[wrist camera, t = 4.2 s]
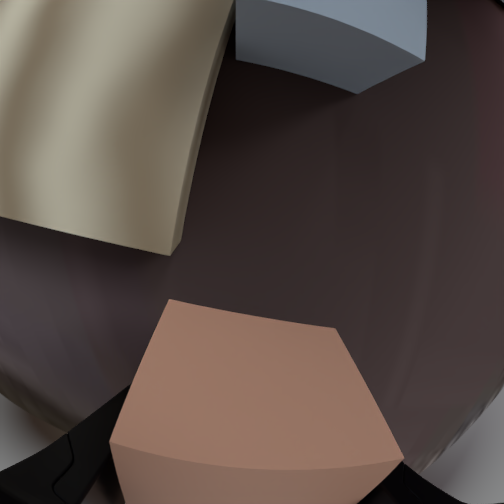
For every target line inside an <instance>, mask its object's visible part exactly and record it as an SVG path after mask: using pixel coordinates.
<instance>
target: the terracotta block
mask: <svg viewBox="0 0 504 504" xmlns="http://www.w3.org/2000/svg"><path fill="white" fill-rule="evenodd" d="M109 443H110V447H111V452H112V456H113V460H114V464H115V468H116V472H117V476H118V479H119V483H120V486H121V490H122V493H123V496H124V499H125V503H126V504H357V503H358V502H359V501H360V500H362V499H363V498H364V497H365V496H366V495H367V494H368V493H370V492H371V491H372V490H373V489H374V488H375V487H376V486H377V485H378V484H379V483H380V482H381V481H382V480H384V479H385V478H386V477H387V476H388V475H389V474H390V473H391V472H392V471H393V470H394V469H395V468H396V466H397V465H398V464H399V463H400V462H401V461H402V460H403V459H404V457H403V455H402V453H401V451H400V449H399V447H398V445H397V443H396V441H395V439H394V437H393V435H392V433H391V431H390V429H389V427H388V425H387V423H386V421H385V419H384V417H383V415H382V413H381V412H380V410H379V408H378V406H377V404H376V402H375V400H374V398H373V396H372V395H371V393H370V391H369V389H368V387H367V385H366V383H365V381H364V380H363V378H362V376H361V374H360V372H359V370H358V369H357V367H356V365H355V363H354V361H353V359H352V358H351V356H350V354H349V352H348V350H347V349H346V347H345V345H344V343H343V341H342V340H341V338H340V336H339V334H338V332H337V331H336V329H335V328H328V327H321V326H314V325H307V324H300V323H294V322H287V321H281V320H275V319H269V318H263V317H257V316H251V315H246V314H240V313H235V312H229V311H224V310H219V309H214V308H209V307H204V306H199V305H194V304H189V303H185V302H180V301H176V300H171V299H169V301H168V303H167V305H166V307H165V309H164V311H163V314H162V316H161V318H160V320H159V322H158V325H157V327H156V329H155V331H154V333H153V336H152V338H151V340H150V342H149V345H148V347H147V349H146V352H145V354H144V356H143V358H142V361H141V363H140V366H139V368H138V370H137V373H136V375H135V377H134V380H133V382H132V385H131V387H130V389H129V392H128V394H127V397H126V399H125V402H124V404H123V407H122V409H121V412H120V415H119V417H118V420H117V422H116V425H115V428H114V430H113V433H112V435H111V438H110V441H109Z"/></svg>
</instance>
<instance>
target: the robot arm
mask: <svg viewBox="0 0 504 504" xmlns="http://www.w3.org/2000/svg"><path fill="white" fill-rule="evenodd" d="M496 1H498V2H499V3H500V4H501V5H502V6H503V7H504V0H496ZM131 385H132V383H131V384H130V385H129V386H127V387H126V388H125V389H123V390H122V391H121V392H120V393H118V394H117V395H116V396H115V397H113V398H112V399H111V400H109V401H108V402H107V403H105V404H104V405H103V406H102V407H100V408H99V409H98V410H96V411H95V412H94V413H92V414H91V415H90V416H89V417H87V418H86V419H85V420H83V421H82V422H81V423H79V424H78V425H77V426H75V427H74V428H73V429H71V430H70V431H69V432H68V434H65V435H63V436H62V437H60V438H59V439H58V440H56V441H55V442H54V443H52V444H51V445H49V446H48V447H46V448H45V449H43V450H41V451H39V452H38V453H36V454H34V455H32V456H30V457H28V458H26V459H25V460H23V461H21V462H19V463H17V464H15V465H13V466H11V467H9V468H7V469H4V470H2V471H0V504H125V499H124V496H123V493H122V490H121V486H120V483H119V479H118V476H117V472H116V468H115V464H114V460H113V456H112V452H111V447H110V443H109V441H110V438H111V435H112V433H113V430H114V428H115V425H116V422H117V420H118V417H119V415H120V412H121V409H122V407H123V404H124V402H125V399H126V397H127V394H128V392H129V389H130V387H131ZM357 504H467V503H464V502H461V501H459V500H457V499H455V498H454V497H452V496H450V495H448V494H447V493H445V492H444V491H442V490H440V489H439V488H437V487H436V486H434V485H433V484H431V483H430V482H428V481H427V480H425V479H424V478H422V477H421V476H420V475H418V474H417V473H416V472H415V471H413V470H412V469H411V468H410V467H408V466H407V465H406V464H404V463H403V462H402V461H401V462H400V463H399V464H398V465H397V466H396V468H395V469H394V470H393V471H392V472H391V473H390V474H389V475H388V476H387V477H386V478H385V479H384V480H382V481H381V482H380V483H379V484H378V485H377V486H376V487H375V488H374V489H373V490H372V491H371V492H370V493H368V494H367V495H366V496H365V497H364V498H363V499H362V500H360V501H359V502H358V503H357ZM497 504H504V503H497Z"/></svg>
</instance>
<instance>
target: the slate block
mask: <svg viewBox="0 0 504 504" xmlns="http://www.w3.org/2000/svg"><path fill="white" fill-rule="evenodd" d="M426 32H427V0H236V60H240V61H245V62H250V63H255V64H260V65H264V66H268V67H272V68H276V69H280V70H284V71H288V72H292V73H295V74H299V75H302V76H306V77H309V78H312V79H315V80H319V81H322V82H325V83H328V84H331V85H334V86H336V87H339V88H342V89H345V90H347V91H350V92H353V93H355V94H359V93H361V92H362V91H364V90H366V89H368V88H370V87H372V86H374V85H376V84H378V83H380V82H382V81H384V80H386V79H388V78H390V77H392V76H394V75H396V74H398V73H400V72H402V71H405V70H407V69H409V68H411V67H413V66H415V65H417V64H420V63H422V62H424V61H425V53H426Z"/></svg>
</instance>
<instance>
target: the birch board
mask: <svg viewBox="0 0 504 504" xmlns="http://www.w3.org/2000/svg"><path fill="white" fill-rule="evenodd" d="M235 19H236V0H0V216H1V217H5V218H9V219H13V220H17V221H21V222H25V223H29V224H33V225H37V226H41V227H45V228H49V229H54V230H58V231H62V232H66V233H70V234H75V235H79V236H83V237H87V238H92V239H96V240H100V241H105V242H109V243H114V244H118V245H122V246H127V247H131V248H136V249H140V250H145V251H149V252H154V253H159V254H163V255H168V256H170V255H171V254H172V252H173V251H174V250H175V248H176V247H177V245H178V244H179V243H180V241H181V237H182V231H183V225H184V220H185V214H186V209H187V204H188V199H189V194H190V189H191V184H192V179H193V174H194V169H195V165H196V160H197V156H198V151H199V147H200V143H201V138H202V134H203V130H204V126H205V122H206V118H207V114H208V110H209V106H210V102H211V99H212V95H213V91H214V87H215V84H216V80H217V77H218V73H219V70H220V66H221V63H222V60H223V56H224V53H225V50H226V46H227V43H228V40H229V37H230V34H231V31H232V28H233V25H234V22H235Z"/></svg>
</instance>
